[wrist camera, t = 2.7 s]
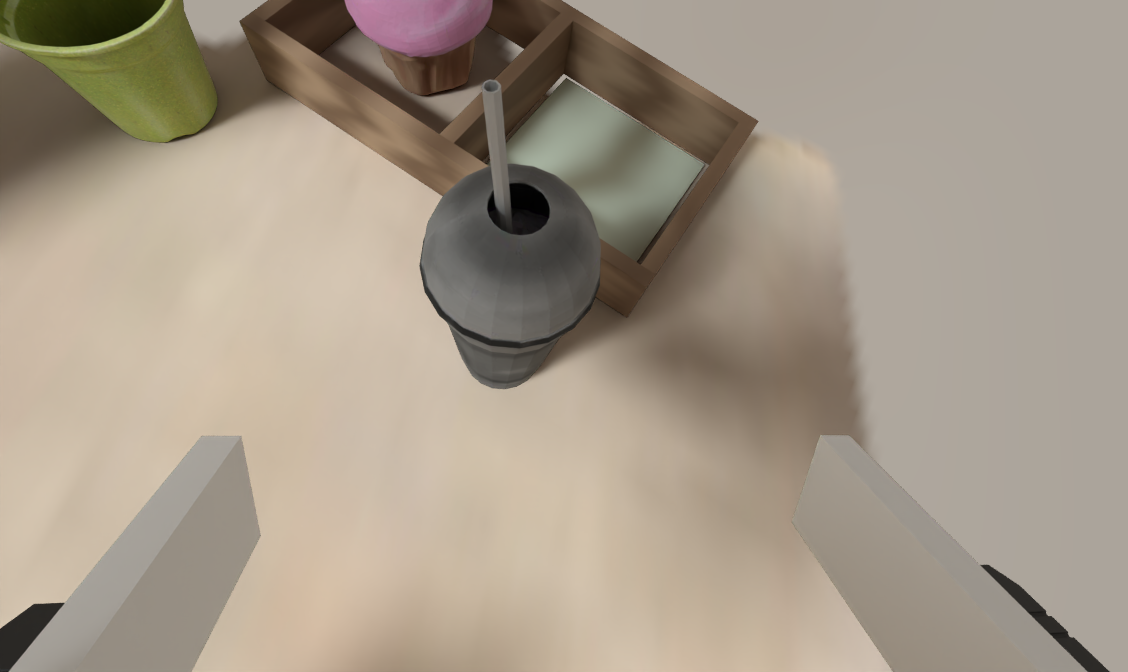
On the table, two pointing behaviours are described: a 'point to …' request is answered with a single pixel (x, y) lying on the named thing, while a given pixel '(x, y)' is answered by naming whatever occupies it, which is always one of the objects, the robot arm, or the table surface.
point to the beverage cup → (509, 261)
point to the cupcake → (424, 38)
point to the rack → (537, 122)
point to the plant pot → (120, 59)
